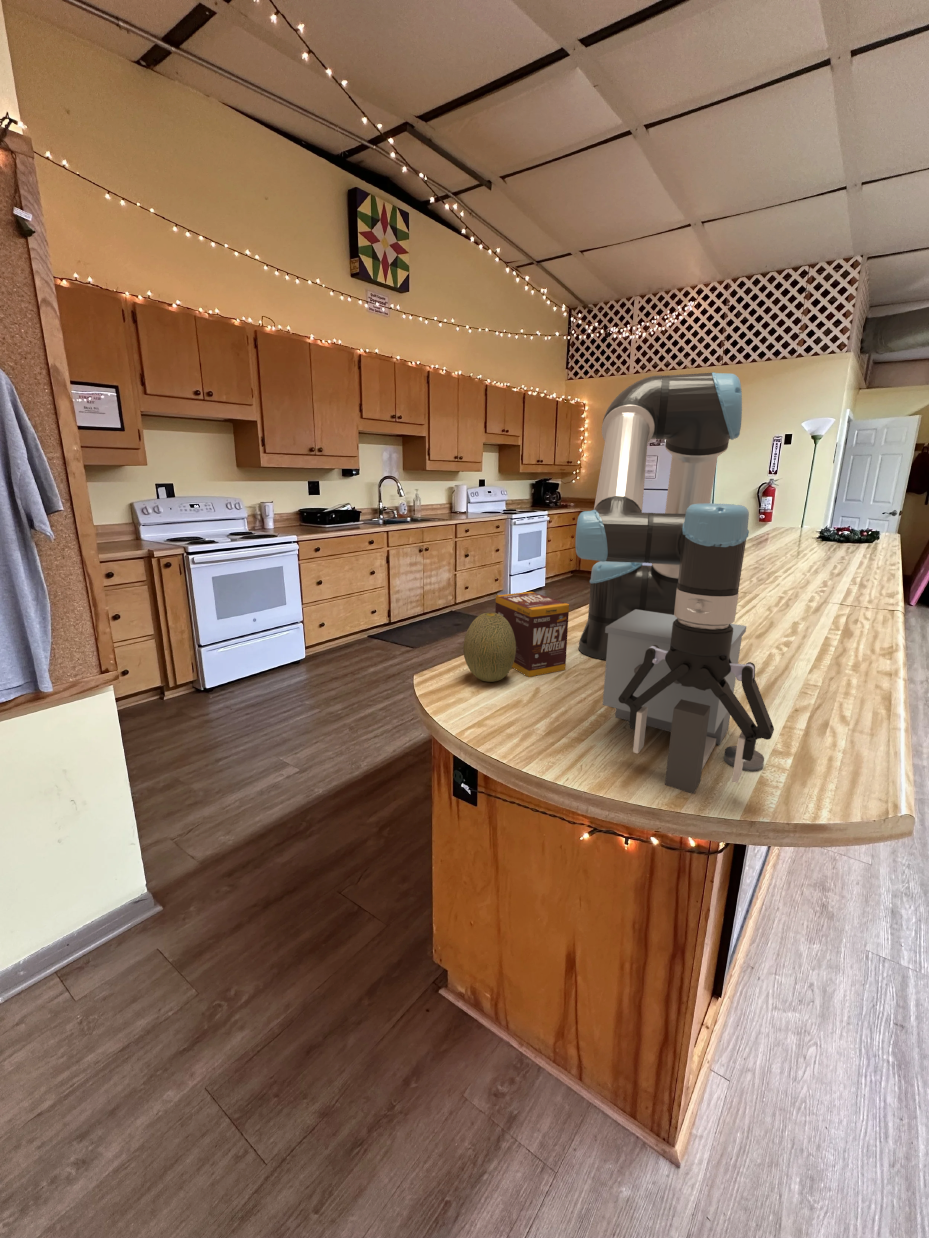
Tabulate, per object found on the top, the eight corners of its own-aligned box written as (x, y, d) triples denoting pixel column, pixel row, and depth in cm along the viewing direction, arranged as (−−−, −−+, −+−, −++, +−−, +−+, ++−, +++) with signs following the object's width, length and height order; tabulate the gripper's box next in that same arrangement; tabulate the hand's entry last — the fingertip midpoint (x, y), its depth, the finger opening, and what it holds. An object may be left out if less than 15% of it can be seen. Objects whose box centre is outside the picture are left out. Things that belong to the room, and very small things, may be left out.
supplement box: (528, 678, 119) (531, 609, 115) (493, 657, 132) (494, 594, 128) (566, 670, 124) (570, 604, 120) (528, 651, 137) (531, 590, 133)
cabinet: (594, 733, 94) (602, 628, 89) (626, 703, 107) (635, 609, 102) (710, 767, 83) (727, 650, 78) (731, 729, 96) (746, 625, 91)
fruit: (452, 679, 118) (452, 612, 114) (486, 666, 126) (487, 603, 122) (492, 693, 111) (494, 623, 107) (526, 679, 119) (528, 612, 115)
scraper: (664, 784, 79) (673, 708, 76) (693, 739, 92) (701, 673, 89) (693, 793, 77) (704, 715, 74) (718, 745, 90) (728, 678, 87)
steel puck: (718, 763, 85) (719, 754, 85) (730, 751, 89) (731, 742, 89) (756, 777, 82) (757, 767, 81) (767, 763, 85) (768, 754, 85)
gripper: (603, 613, 77) (593, 748, 83) (809, 645, 63) (780, 805, 69) (622, 603, 83) (611, 729, 88) (814, 631, 69) (786, 779, 74)
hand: (685, 763), depth 79 cm, fingers open, 13 cm apart
